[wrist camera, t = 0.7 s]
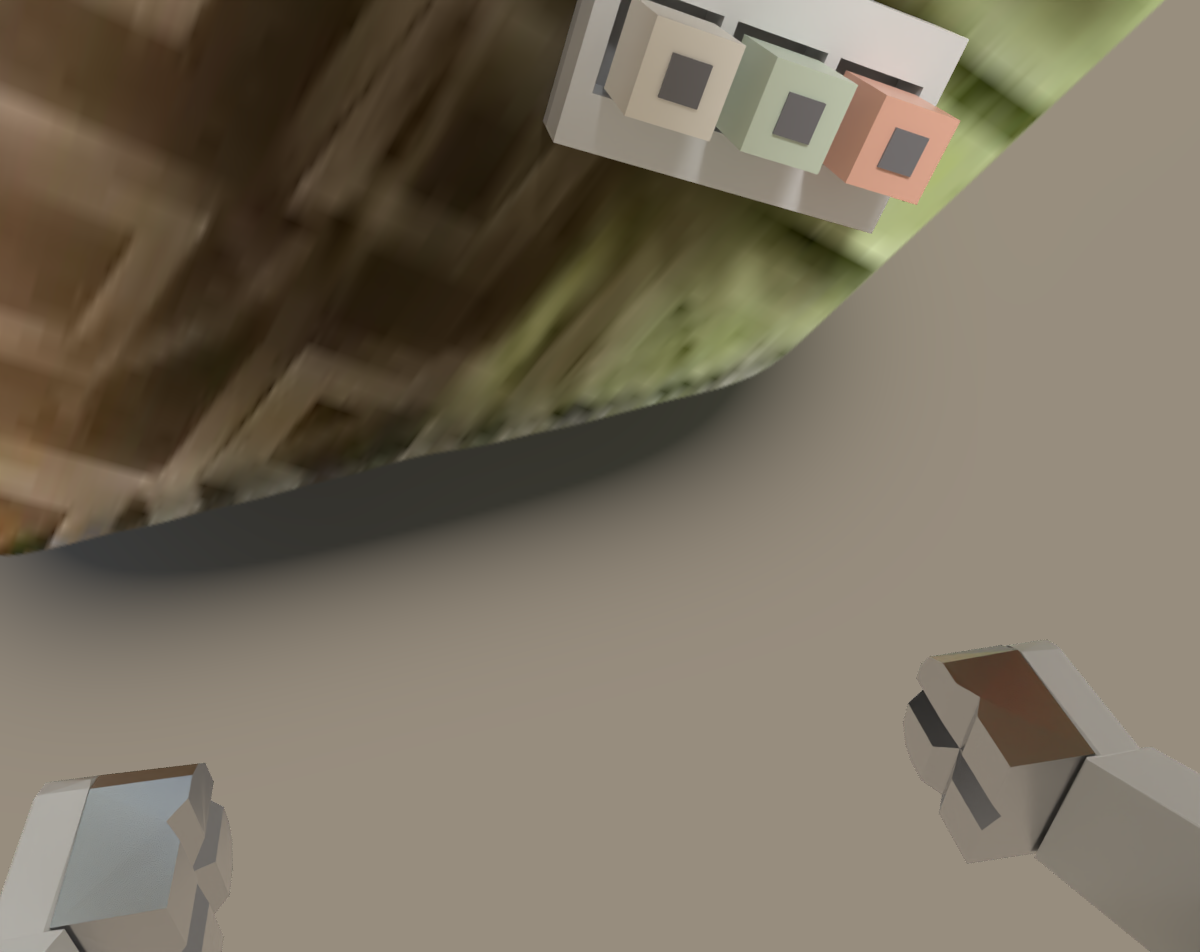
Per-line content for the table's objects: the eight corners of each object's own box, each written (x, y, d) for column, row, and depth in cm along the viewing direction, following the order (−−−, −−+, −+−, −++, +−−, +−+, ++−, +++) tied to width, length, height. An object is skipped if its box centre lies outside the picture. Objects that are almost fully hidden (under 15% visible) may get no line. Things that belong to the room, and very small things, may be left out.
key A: (633, -6, 40) (658, 15, 36) (714, 23, 41) (747, 46, 38) (603, 88, 42) (624, 116, 39) (682, 112, 44) (710, 142, 40)
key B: (744, 34, 42) (778, 57, 38) (819, 60, 43) (859, 85, 40) (710, 121, 44) (741, 151, 40) (783, 144, 45) (818, 175, 42)
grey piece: (606, -103, 41) (623, -95, 38) (934, 24, 47) (969, 39, 44) (542, 121, 46) (553, 142, 43) (845, 209, 52) (871, 233, 49)
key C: (845, 70, 44) (888, 95, 40) (914, 94, 45) (961, 121, 41) (809, 152, 46) (846, 183, 42) (876, 173, 47) (917, 205, 44)
